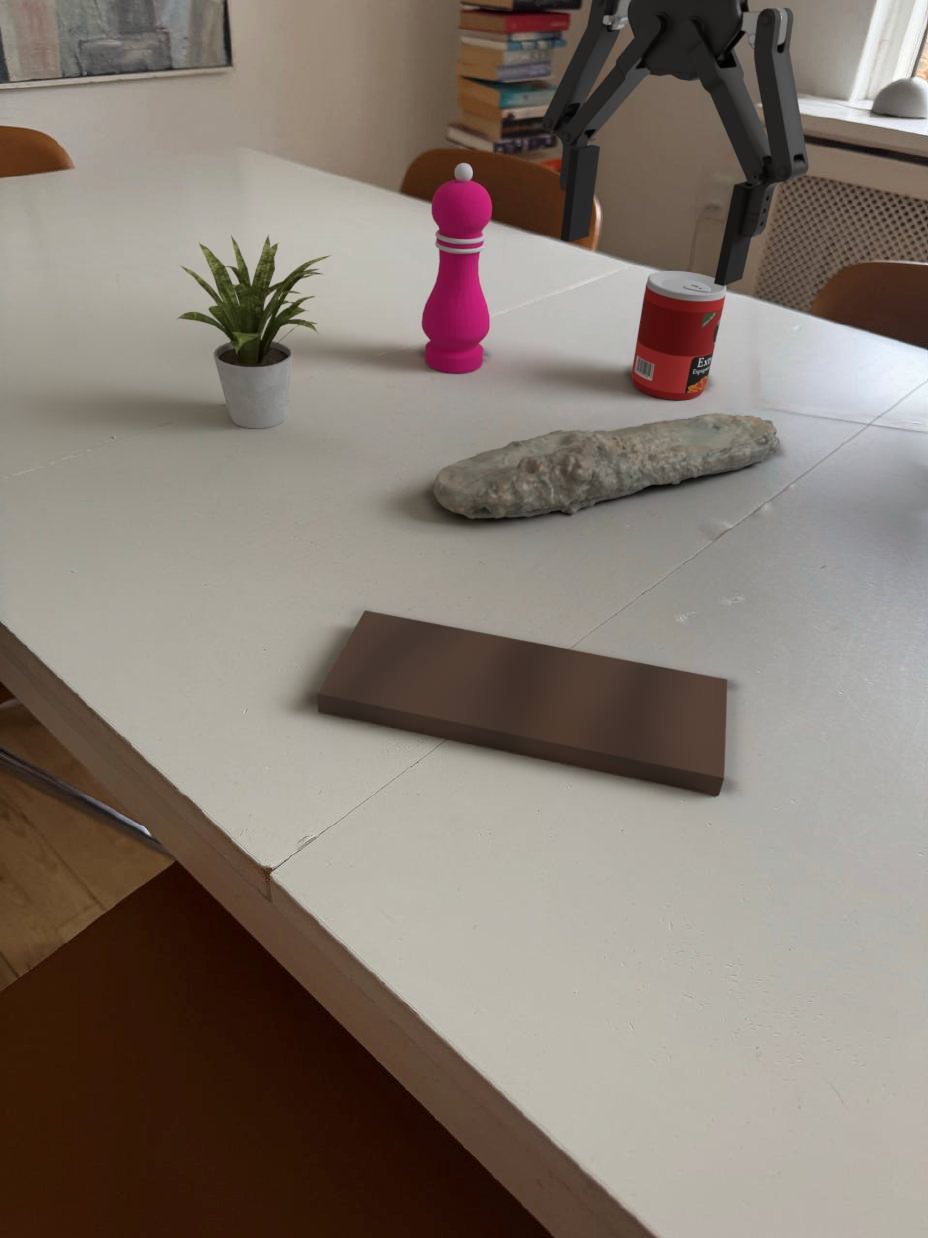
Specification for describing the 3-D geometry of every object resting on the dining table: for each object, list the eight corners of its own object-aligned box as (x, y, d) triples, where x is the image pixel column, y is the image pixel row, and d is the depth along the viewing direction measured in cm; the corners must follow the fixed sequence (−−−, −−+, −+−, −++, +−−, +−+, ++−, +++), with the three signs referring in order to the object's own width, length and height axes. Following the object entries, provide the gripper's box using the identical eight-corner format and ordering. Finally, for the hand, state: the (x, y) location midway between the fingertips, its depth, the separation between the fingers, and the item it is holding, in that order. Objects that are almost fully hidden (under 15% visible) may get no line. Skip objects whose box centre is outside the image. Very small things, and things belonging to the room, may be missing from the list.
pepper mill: (473, 380, 101) (487, 174, 89) (410, 367, 103) (415, 164, 91) (495, 357, 107) (511, 161, 95) (435, 345, 109) (442, 151, 97)
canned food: (700, 406, 99) (723, 299, 92) (623, 392, 101) (640, 286, 94) (709, 380, 105) (731, 277, 98) (636, 367, 107) (653, 265, 100)
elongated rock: (798, 482, 89) (726, 442, 96) (814, 427, 86) (738, 391, 94) (468, 542, 74) (411, 490, 81) (474, 478, 71) (414, 430, 78)
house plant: (343, 455, 86) (340, 267, 76) (182, 458, 83) (158, 266, 74) (334, 390, 97) (330, 220, 87) (192, 392, 95) (172, 217, 85)
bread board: (722, 697, 62) (727, 679, 61) (719, 796, 55) (724, 778, 54) (364, 627, 66) (364, 609, 65) (317, 712, 58) (316, 693, 57)
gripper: (511, -107, 64) (488, 229, 76) (875, -87, 51) (776, 313, 63) (578, -101, 68) (547, 215, 81) (927, -81, 55) (825, 290, 68)
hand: (647, 259), depth 72 cm, fingers open, 13 cm apart
